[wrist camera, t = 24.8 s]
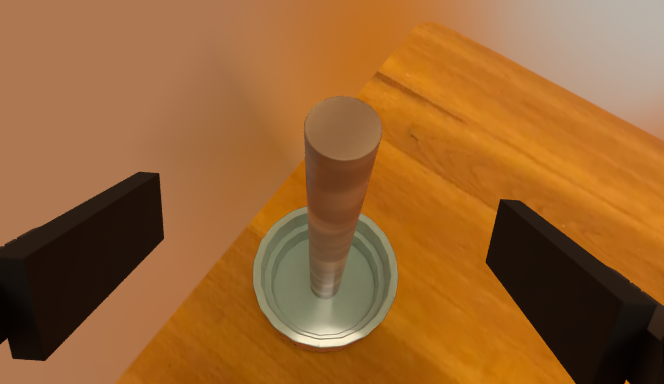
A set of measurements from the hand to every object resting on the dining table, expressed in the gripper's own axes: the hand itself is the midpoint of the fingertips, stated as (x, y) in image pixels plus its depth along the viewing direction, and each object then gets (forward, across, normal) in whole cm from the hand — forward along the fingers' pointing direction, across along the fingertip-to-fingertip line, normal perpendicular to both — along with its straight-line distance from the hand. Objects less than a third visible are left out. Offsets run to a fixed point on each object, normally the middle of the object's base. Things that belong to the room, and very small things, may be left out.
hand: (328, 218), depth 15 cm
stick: (+16, 0, -13) cm, 21 cm away
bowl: (+16, 0, -14) cm, 21 cm away
